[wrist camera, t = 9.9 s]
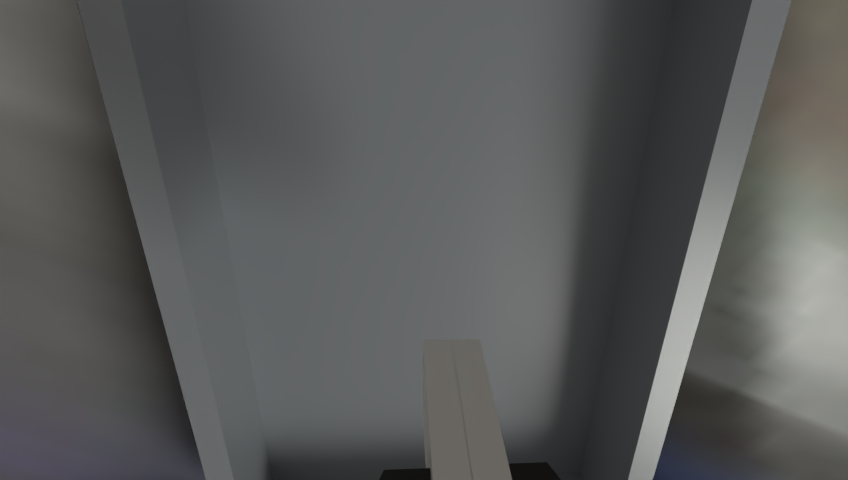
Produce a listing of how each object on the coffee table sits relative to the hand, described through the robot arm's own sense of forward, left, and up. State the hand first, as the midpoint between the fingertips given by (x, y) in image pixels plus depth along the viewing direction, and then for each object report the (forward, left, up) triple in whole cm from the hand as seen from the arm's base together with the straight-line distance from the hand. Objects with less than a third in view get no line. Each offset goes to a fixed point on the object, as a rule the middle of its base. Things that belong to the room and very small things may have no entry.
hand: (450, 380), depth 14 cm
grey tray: (0, 0, -7) cm, 7 cm away
